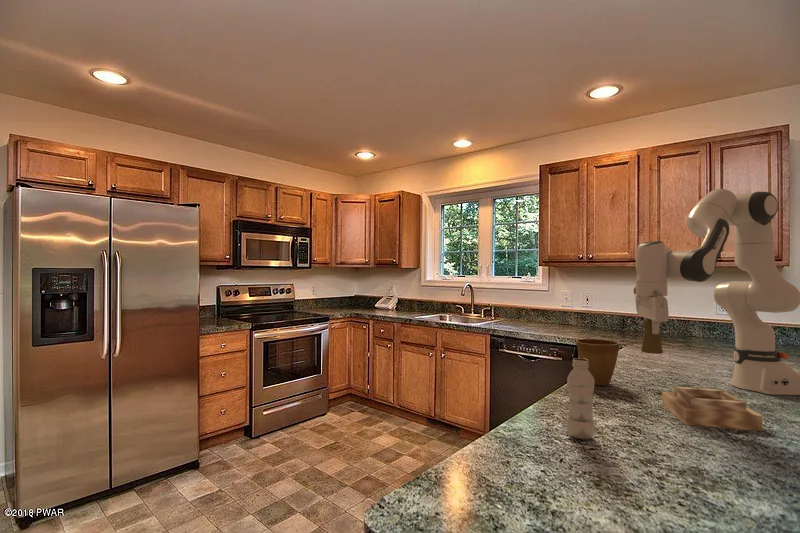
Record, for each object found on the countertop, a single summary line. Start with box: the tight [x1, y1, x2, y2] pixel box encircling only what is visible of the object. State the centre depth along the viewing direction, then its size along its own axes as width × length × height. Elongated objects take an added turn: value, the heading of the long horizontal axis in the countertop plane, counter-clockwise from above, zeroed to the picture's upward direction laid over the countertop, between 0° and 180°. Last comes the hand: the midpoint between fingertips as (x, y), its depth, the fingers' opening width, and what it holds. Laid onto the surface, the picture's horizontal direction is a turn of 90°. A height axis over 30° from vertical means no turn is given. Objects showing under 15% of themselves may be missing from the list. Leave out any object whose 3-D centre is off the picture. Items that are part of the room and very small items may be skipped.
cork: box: [641, 318, 664, 355], centre depth 134 cm, size 6×6×11 cm
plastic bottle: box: [566, 357, 596, 440], centre depth 106 cm, size 6×7×20 cm
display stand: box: [661, 386, 764, 432], centre depth 121 cm, size 18×18×6 cm
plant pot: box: [575, 338, 620, 387], centre depth 156 cm, size 15×15×16 cm
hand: (651, 332), depth 134 cm, fingers closed on cork, 4 cm apart
